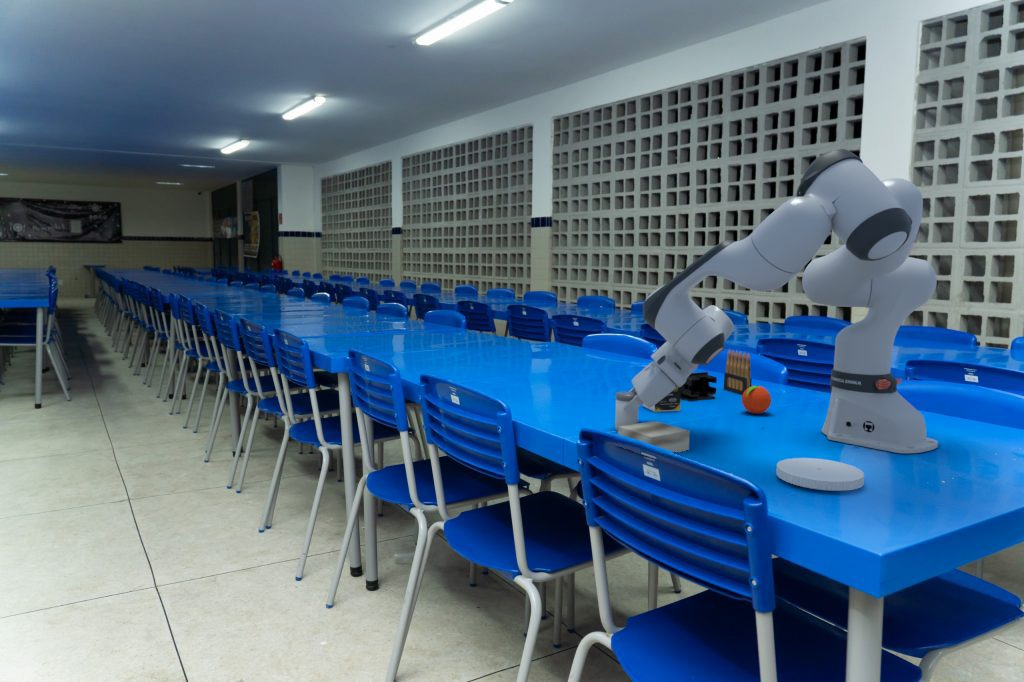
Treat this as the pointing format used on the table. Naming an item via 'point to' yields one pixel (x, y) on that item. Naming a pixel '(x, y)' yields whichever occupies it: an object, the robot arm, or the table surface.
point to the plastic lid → (820, 474)
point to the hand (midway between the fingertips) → (624, 407)
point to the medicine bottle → (668, 402)
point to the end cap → (698, 387)
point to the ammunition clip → (737, 372)
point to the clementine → (756, 399)
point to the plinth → (658, 435)
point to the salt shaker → (621, 415)
